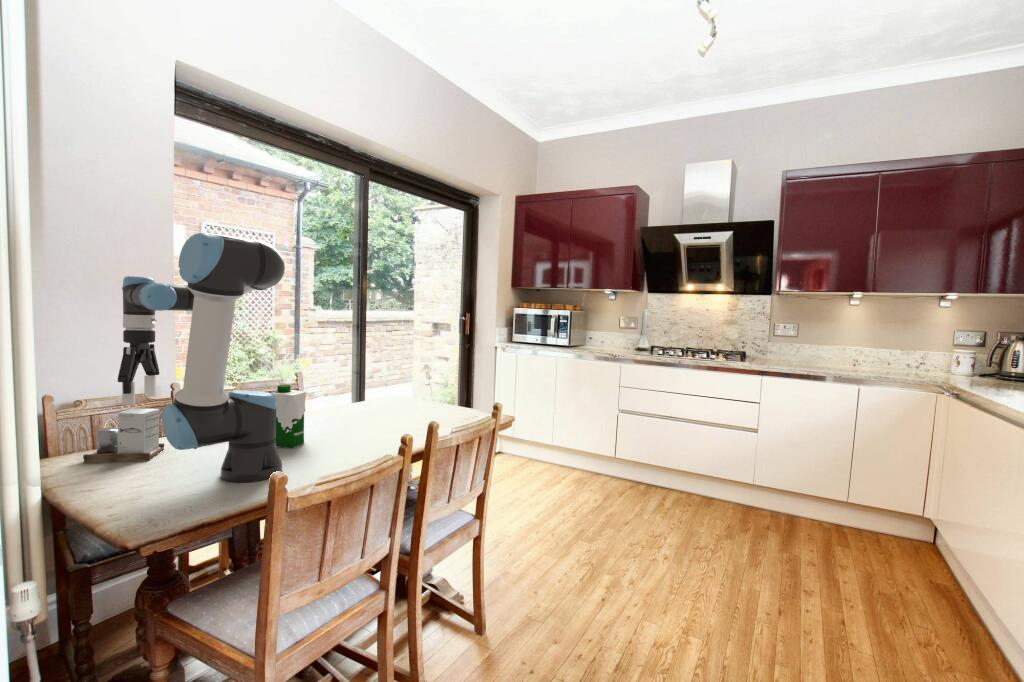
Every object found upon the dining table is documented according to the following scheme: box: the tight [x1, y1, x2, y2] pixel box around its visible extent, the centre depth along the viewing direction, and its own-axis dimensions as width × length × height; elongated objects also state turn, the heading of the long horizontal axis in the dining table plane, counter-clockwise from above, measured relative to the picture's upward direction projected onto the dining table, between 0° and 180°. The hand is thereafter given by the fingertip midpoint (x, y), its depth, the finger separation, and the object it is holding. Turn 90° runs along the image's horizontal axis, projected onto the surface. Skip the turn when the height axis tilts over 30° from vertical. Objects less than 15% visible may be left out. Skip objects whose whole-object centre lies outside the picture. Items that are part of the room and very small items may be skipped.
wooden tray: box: [82, 442, 165, 463], centre depth 144 cm, size 16×11×2 cm, turn 106°
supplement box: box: [117, 407, 160, 454], centre depth 144 cm, size 7×7×13 cm
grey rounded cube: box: [96, 426, 118, 454], centre depth 143 cm, size 5×5×7 cm
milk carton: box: [271, 384, 307, 449], centre depth 163 cm, size 9×9×20 cm
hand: (139, 400), depth 144 cm, fingers open, 13 cm apart
